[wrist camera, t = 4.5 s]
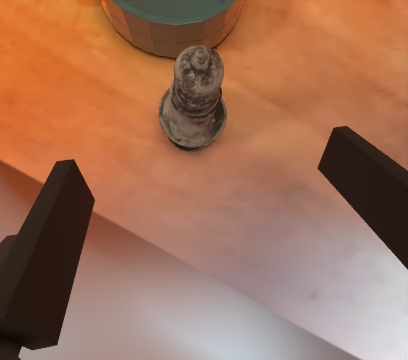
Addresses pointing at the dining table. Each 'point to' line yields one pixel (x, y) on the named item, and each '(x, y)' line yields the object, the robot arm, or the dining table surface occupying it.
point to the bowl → (172, 23)
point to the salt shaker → (194, 100)
